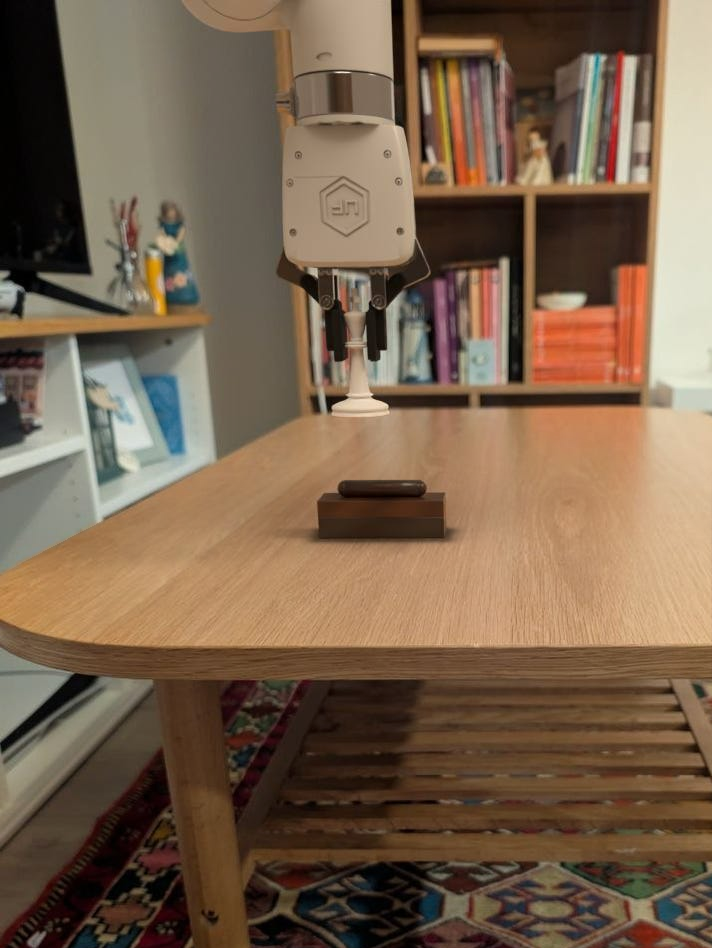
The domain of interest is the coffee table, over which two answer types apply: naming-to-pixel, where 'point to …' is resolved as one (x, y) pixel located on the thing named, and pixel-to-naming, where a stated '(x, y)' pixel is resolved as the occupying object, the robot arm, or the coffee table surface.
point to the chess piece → (358, 371)
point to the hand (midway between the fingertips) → (357, 358)
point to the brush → (382, 510)
